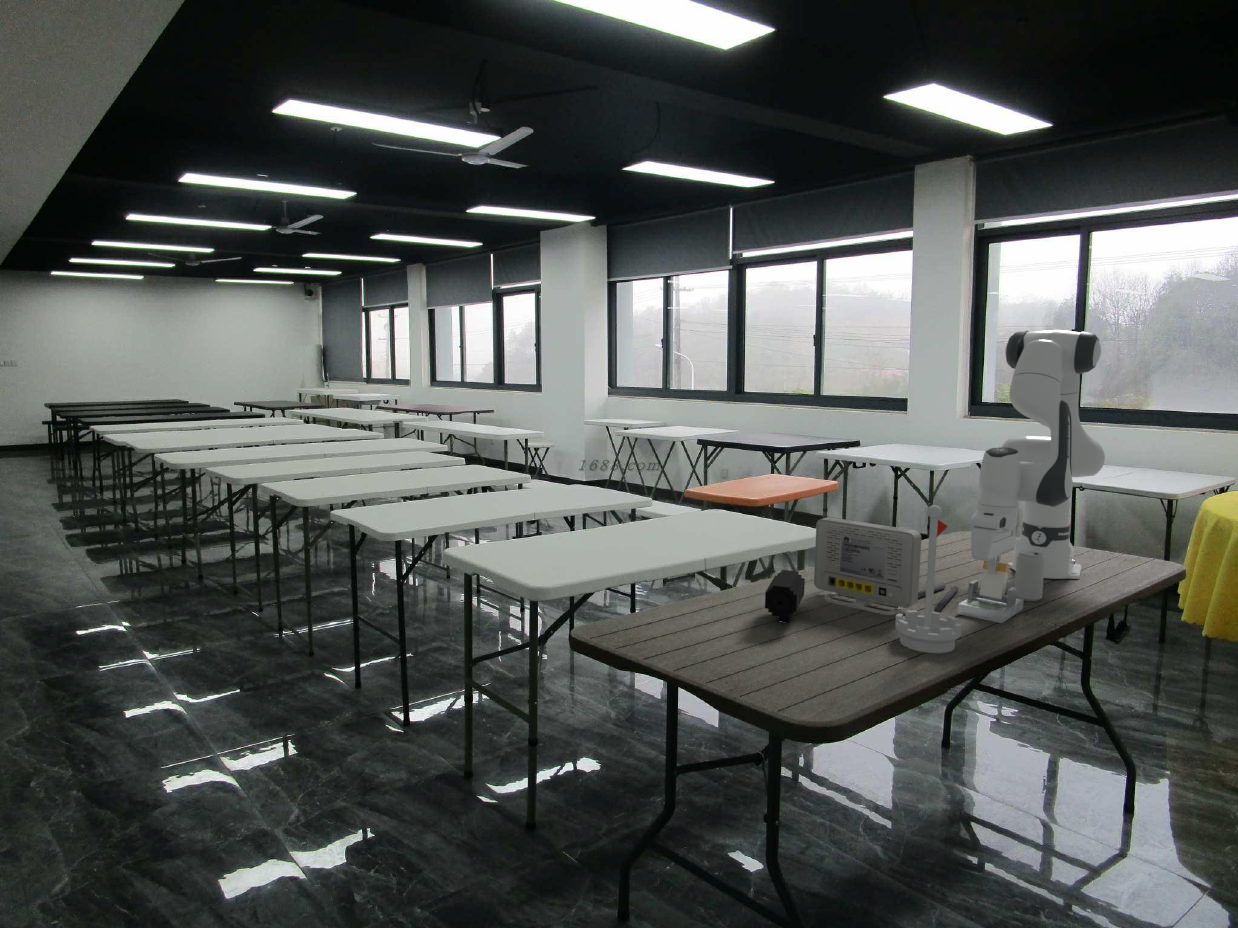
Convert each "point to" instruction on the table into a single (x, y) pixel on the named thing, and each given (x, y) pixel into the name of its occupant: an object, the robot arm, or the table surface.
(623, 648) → the table surface
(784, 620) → the security camera
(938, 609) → the dark grey rod
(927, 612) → the flag stand
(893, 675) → the table surface
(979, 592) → the breaker lever
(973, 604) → the breaker panel
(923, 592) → the cord
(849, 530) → the network device
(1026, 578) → the beverage can
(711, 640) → the table surface
